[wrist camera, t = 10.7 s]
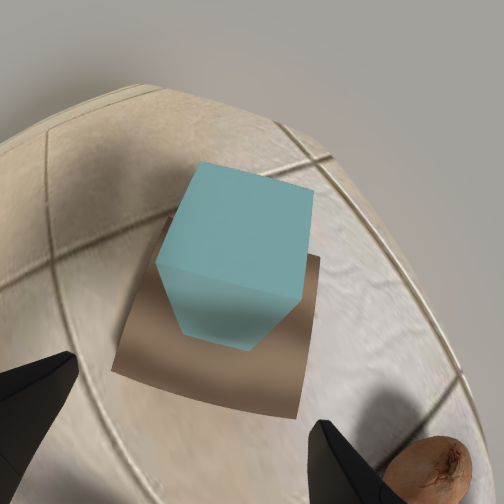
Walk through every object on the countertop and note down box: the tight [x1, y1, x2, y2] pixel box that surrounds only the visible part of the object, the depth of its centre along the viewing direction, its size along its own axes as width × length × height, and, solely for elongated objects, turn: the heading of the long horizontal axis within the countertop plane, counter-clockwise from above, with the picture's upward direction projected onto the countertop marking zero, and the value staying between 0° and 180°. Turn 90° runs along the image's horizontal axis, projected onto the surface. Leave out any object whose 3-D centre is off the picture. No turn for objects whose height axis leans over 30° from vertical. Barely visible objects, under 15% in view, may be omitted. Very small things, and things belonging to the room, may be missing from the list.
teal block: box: [155, 161, 314, 351], centre depth 15 cm, size 5×5×12 cm
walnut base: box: [111, 217, 320, 419], centre depth 22 cm, size 14×14×3 cm
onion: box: [382, 436, 472, 504], centre depth 13 cm, size 10×9×10 cm
